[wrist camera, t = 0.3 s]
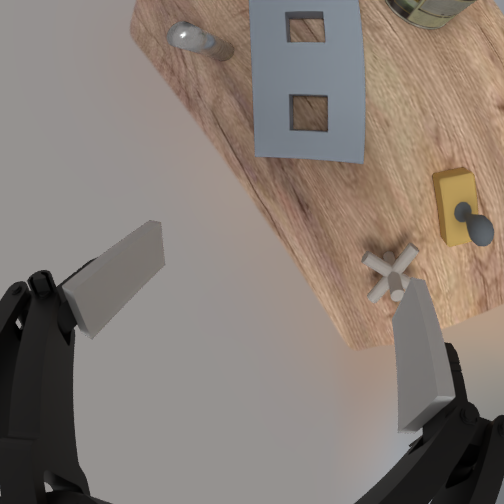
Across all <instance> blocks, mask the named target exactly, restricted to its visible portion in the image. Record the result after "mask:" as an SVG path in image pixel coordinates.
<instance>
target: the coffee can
mask: <svg viewBox="0 0 504 504" xmlns="http://www.w3.org/2000/svg"><path fill="white" fill-rule="evenodd" d="M385 1H386V3H387V4H388V6H389V7H390V8H391V10H392V11H393V12H394V13H395V14H396V15H398V16H399V17H400V18H401V19H403V20H404V21H406V22H408V23H409V24H412V25H414V26H416V27H419V28H423V29H438V28H441V27H443V26H444V25H445V24H446V23H447V22H448V21H449V20H451V19H452V18H453V17H455V16H456V15H457V14H459V13H460V12H461V11H463V10H464V9H465V8H467V7H468V6H470V5H471V4H472V3H474V2H475V1H477V0H385Z"/></svg>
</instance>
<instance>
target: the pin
mask: <svg viewBox="0 0 504 504" xmlns="http://www.w3.org/2000/svg"><path fill="white" fill-rule="evenodd" d="M167 41H168V43H169V44H170V45H172V46H174V47H178V48H182V49H185V50H189V51H192V52H195V53H198V54H202V55H205V56H208V57H211V58H214V59H217V60H219V61H225V60H228V59H230V58H231V57H232V55H233V53H234V47H233V45H232V44H231V43H229V42H227V41H225V40H223V39H221V38H220V37H218V36H216V35H214V34H212V33H210V32H208V31H205V30H203V29H201V28H199V27H197V26H195V25H193V24H190V23H188V22H185V21H181V22H178V23H176V24H174V25H173V26H172V27H171V28H170V29H169V31H168V33H167Z"/></svg>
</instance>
